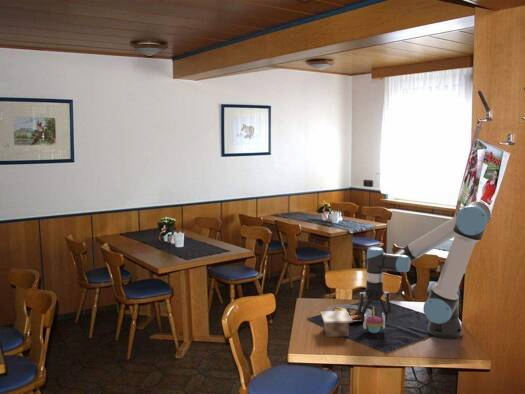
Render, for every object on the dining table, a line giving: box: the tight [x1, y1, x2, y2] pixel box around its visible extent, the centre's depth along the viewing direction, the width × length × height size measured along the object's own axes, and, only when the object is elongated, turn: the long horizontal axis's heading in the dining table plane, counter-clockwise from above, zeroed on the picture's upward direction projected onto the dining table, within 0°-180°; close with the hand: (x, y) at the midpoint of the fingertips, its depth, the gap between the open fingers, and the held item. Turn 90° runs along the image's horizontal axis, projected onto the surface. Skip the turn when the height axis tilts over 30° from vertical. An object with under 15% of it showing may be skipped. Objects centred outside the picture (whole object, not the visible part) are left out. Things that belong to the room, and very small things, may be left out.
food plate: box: [325, 303, 373, 323], centre depth 266 cm, size 25×23×4 cm
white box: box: [319, 310, 354, 338], centre depth 245 cm, size 13×13×8 cm
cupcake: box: [366, 305, 383, 334], centre depth 245 cm, size 9×8×12 cm
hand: (374, 327), depth 245 cm, fingers closed on cupcake, 8 cm apart
